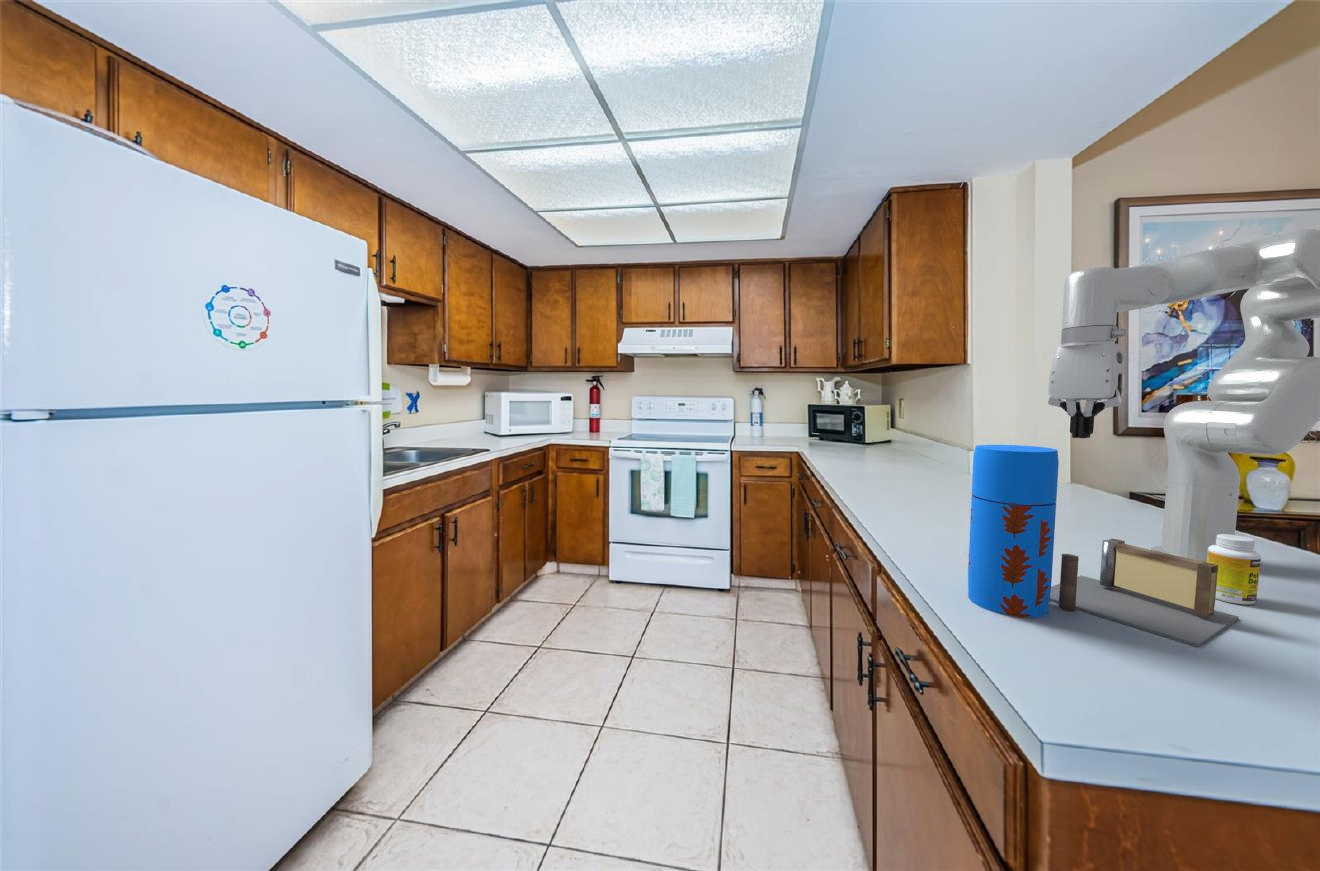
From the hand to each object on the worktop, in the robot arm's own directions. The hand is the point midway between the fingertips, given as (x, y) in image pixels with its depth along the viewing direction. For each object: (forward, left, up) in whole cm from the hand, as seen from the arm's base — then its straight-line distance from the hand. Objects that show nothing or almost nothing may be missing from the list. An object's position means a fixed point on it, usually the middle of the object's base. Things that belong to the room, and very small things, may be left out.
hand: (1081, 437), depth 92 cm
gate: (+9, +14, -24) cm, 29 cm away
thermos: (+28, +2, -25) cm, 38 cm away
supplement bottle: (-5, +19, -25) cm, 32 cm away
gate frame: (+13, +13, -25) cm, 31 cm away
